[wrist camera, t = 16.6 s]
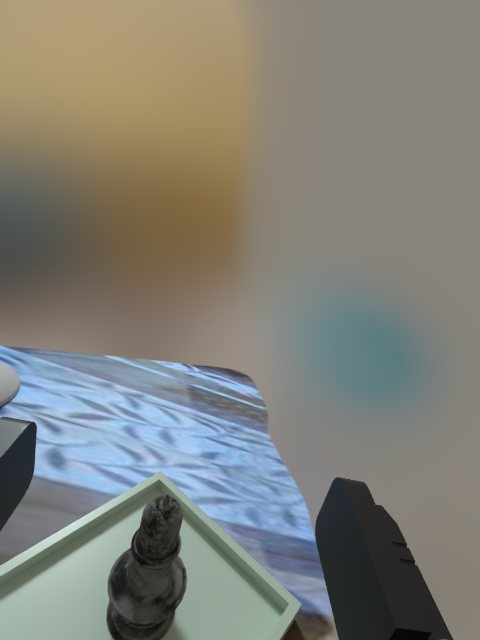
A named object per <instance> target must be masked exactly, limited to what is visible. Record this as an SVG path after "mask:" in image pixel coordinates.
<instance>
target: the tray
mask: <svg viewBox="0 0 480 640" xmlns="http://www.w3.org/2000/svg"><path fill="white" fill-rule="evenodd" d="M167 494H168V495H169V496H170V497H173V498H175V499H176V500H177V501H178V502H179V503H180V504H181V506H182V509H183V520H182V524H181V528H180V532H179V534H180V537H181V550H180V552H179V555H178V556H179V557H180V558H181V559H182V561H183V564H184V566H185V568H186V574H187V585H186V591H185V594H184V596H183V599H182V601H181V603H180V604H179V606H178V607H177V608H176V610H175V616H174V619H173V622H172V625H171V627H170V629H169V631H168V632H167V634H166V635H165V636H164V637H163V638H162V639H161V640H282V639H283V638H284V636H285V635H286V633H287V631H288V630H289V628H290V627H291V625H292V623H293V622H294V620H295V618H296V616H297V614H298V612H299V609H300V607H301V605H302V604H301V603H300V602H299V601H298V600H297V599H296V598H295V597H294V596H293V595H292V594H290V593H289V592H288V591H287V590H286V589H285V588H284V587H283V586H282V585H281V584H280V583H279V582H278V581H277V580H276V579H274V578H273V577H272V576H271V575H270V574H269V573H268V572H267V571H266V570H265V569H264V568H263V567H262V566H261V565H260V564H259V563H257V562H256V561H255V560H254V559H253V558H252V557H251V556H250V555H249V554H248V553H247V552H246V551H245V550H244V549H243V548H242V547H240V546H239V545H238V544H237V543H236V542H235V541H234V540H233V539H232V538H231V537H230V536H229V535H228V534H227V533H226V532H224V531H223V530H222V529H221V528H220V527H219V526H218V525H217V524H216V523H215V522H214V521H213V520H212V519H211V518H210V517H209V516H207V515H206V514H205V513H204V512H203V511H202V510H201V509H200V508H199V507H198V506H197V505H196V504H195V503H194V502H193V501H191V500H190V499H189V498H188V497H187V496H186V495H185V494H184V493H183V492H182V491H181V490H180V489H179V488H178V487H177V486H176V485H174V484H173V483H172V482H171V481H170V480H169V479H168V478H167V477H166V476H165V475H164V474H163V473H162V472H161V471H160V472H158V473H157V474H155V475H153V476H152V477H150V478H148V479H146V480H145V481H143V482H141V483H140V484H138V485H136V486H135V487H133V488H131V489H130V490H128V491H126V492H124V493H123V494H121V495H119V496H118V497H116V498H114V499H113V500H111V501H109V502H108V503H106V504H104V505H102V506H101V507H99V508H97V509H96V510H94V511H92V512H91V513H89V514H87V515H86V516H84V517H82V518H80V519H79V520H77V521H75V522H74V523H72V524H70V525H69V526H67V527H65V528H64V529H62V530H60V531H58V532H57V533H55V534H53V535H52V536H50V537H48V538H47V539H45V540H43V541H42V542H40V543H38V544H36V545H35V546H33V547H31V548H30V549H28V550H26V551H25V552H23V553H21V554H20V555H18V556H16V557H14V558H13V559H11V560H9V561H8V562H6V563H4V564H3V565H1V566H0V640H115V639H114V638H113V637H112V635H111V633H110V631H109V629H108V625H107V621H106V618H107V607H108V603H109V600H110V599H109V595H108V591H107V590H108V578H109V574H110V571H111V568H112V566H113V565H114V563H115V561H116V560H117V559H118V558H119V557H120V556H121V555H122V553H123V552H125V551H126V550H128V549H129V548H131V541H132V537H133V535H134V534H135V532H136V531H137V530H138V529H139V528H140V523H141V518H142V514H143V510H144V508H145V506H146V505H147V503H148V502H149V501H150V500H152V499H154V498H156V497H158V496H165V495H167Z"/></svg>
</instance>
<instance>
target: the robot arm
mask: <svg viewBox="0 0 480 640" xmlns="http://www.w3.org/2000/svg"><path fill="white" fill-rule="evenodd" d="M36 432H37V426H36V423H34V422H30V421H25V420H19V419H14V418H8V417H1V418H0V531H1V529H2V528H3V526H4V525H5V523H6V522H7V520H8V519H9V517H10V516H11V514H12V513H13V511H14V510H15V508H16V507H17V505H18V504H19V502H20V501H21V499H22V498H23V496H24V495H25V493H26V491H27V489H28V487H29V485H30V482H31V480H32V477H33V473H34V465H35V448H36ZM315 537H316V543H317V548H318V552H319V556H320V561H321V565H322V569H323V573H324V578H325V582H326V586H327V591H328V595H329V599H330V603H331V608H332V612H333V616H334V621H335V625H336V629H337V633H338V638H339V640H453V638H452V636H451V634H450V632H449V630H448V628H447V626H446V624H445V622H444V620H443V618H442V616H441V614H440V612H439V610H438V608H437V606H436V603H435V601H434V599H433V598H432V595H431V593H430V591H429V589H428V587H427V585H426V583H425V581H424V579H423V577H422V575H421V572H420V570H419V569H418V566H417V565H415V560H414V558H413V556H412V554H411V552H410V550H409V548H407V543H406V541H405V539H404V537H403V535H402V533H401V531H400V529H399V527H398V525H397V523H396V522H395V521H394V520H393V519H392V517H391V516H390V515H389V514H388V513H387V511H386V510H385V509H384V508H383V507H382V506H380V505H375V502H374V500H373V498H372V495H371V493H370V491H369V489H368V487H367V485H366V484H365V483H364V482H360V481H355V480H350V479H344V478H338V477H337V478H335V479H334V480H333V482H332V485H331V487H330V489H329V491H328V493H327V496H326V498H325V500H324V503H323V505H322V507H321V510H320V512H319V515H318V517H317V520H316V527H315Z"/></svg>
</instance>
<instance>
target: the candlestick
mask: <svg viewBox="0 0 480 640" xmlns="http://www.w3.org/2000/svg"><path fill="white" fill-rule="evenodd" d="M19 388H20V378H19V376H18V374H17V373H16V372H15V371H14V370H13V369H11V368H10V367H8V366H6V365H4V364H1V363H0V406H2V405H4V404H5V403H7V402H8V401H10V400H11V399H12V398H13V397H14V396H15V395H16V394H17V392H18V391H19Z"/></svg>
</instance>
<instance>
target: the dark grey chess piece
mask: <svg viewBox="0 0 480 640" xmlns="http://www.w3.org/2000/svg"><path fill="white" fill-rule="evenodd" d="M182 520H183V509H182V506H181V504H180V503H179V502H178V501H177V500H176V499H175V498H173V497H170V496H169V495H168V494H167V495H165V496H158V497H156V498H154V499H152V500H150V501H149V502H148V503H147V505H146V506H145V508H144V510H143V514H142V518H141V523H140V528H139V529H138V530H137V531H136V532H135V534H134V535H133V537H132V541H131V548H129V549H128V550H126V551H125V552H123V553H122V555H121V556H120V557H119V558H118V559H117V560H116V561H115V563H114V565H113V566H112V568H111V571H110V574H109V578H108V590H107V591H108V595H109V599H110V600H109V603H108V607H107V618H106V621H107V625H108V629H109V631H110V633H111V635H112V637H113V638H114V639H115V640H161V639H162V638H163V637H164V636H165V635H166V634H167V632H168V631H169V629H170V627H171V625H172V622H173V619H174V616H175V610H176V608H177V607H178V606H179V604H180V603H181V601H182V599H183V596H184V594H185V591H186V585H187V574H186V568H185V566H184V564H183V561H182V559H181V558H180V557H179V556H178V555H179V552H180V550H181V537H180V534H179V532H180V528H181V524H182Z"/></svg>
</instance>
